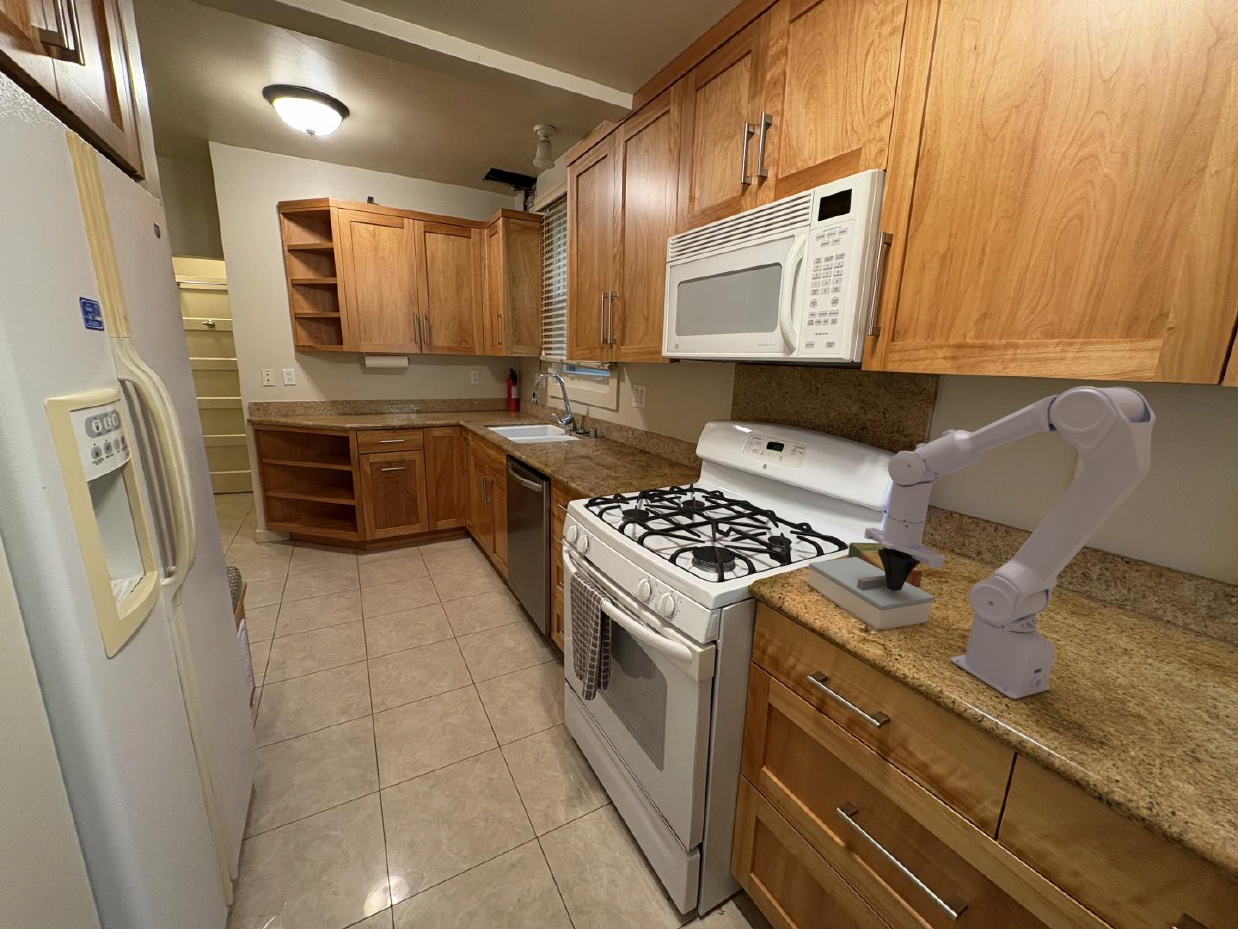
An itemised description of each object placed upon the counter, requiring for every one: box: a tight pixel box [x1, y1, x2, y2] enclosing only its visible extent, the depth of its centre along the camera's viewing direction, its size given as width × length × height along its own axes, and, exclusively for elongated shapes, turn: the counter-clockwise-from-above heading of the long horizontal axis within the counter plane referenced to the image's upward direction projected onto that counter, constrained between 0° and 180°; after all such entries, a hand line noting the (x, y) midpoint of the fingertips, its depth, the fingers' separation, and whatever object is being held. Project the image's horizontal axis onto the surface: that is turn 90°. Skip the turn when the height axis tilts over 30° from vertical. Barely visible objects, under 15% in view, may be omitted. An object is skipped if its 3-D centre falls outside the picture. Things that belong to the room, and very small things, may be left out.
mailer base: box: [807, 567, 933, 632], centre depth 94 cm, size 18×12×4 cm, turn 19°
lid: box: [808, 557, 936, 610], centre depth 94 cm, size 18×12×2 cm
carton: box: [847, 542, 923, 588], centre depth 110 cm, size 8×16×4 cm, turn 0°
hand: (893, 589), depth 88 cm, fingers closed
